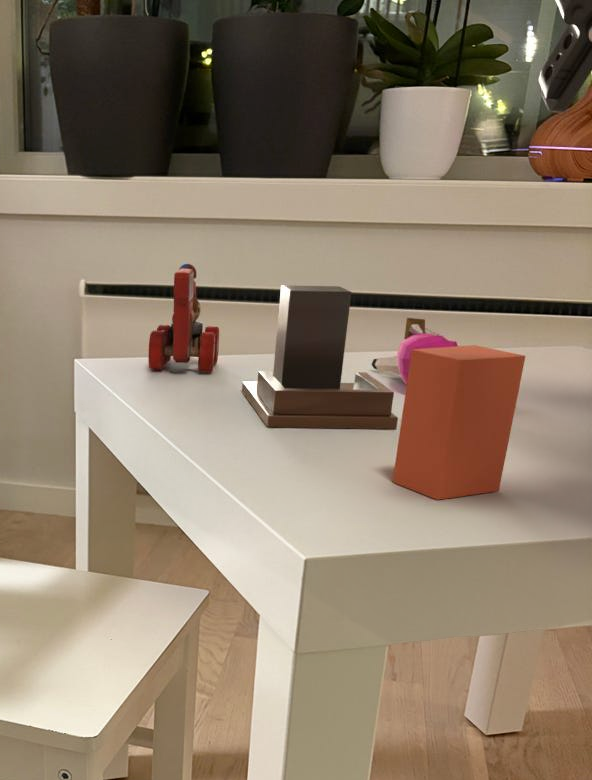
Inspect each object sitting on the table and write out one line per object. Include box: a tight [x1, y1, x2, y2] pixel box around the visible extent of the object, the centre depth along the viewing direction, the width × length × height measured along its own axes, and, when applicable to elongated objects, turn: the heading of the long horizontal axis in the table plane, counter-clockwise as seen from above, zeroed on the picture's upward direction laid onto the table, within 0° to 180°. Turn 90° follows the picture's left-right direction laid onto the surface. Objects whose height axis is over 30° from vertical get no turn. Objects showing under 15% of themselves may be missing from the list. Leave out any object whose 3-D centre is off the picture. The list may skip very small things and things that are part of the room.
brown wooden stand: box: [241, 284, 399, 430], centre depth 87 cm, size 15×11×10 cm
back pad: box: [391, 344, 526, 501], centre depth 65 cm, size 4×6×9 cm
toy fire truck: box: [147, 263, 220, 373], centre depth 105 cm, size 7×12×10 cm, turn 170°
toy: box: [370, 317, 459, 386], centre depth 99 cm, size 7×10×15 cm
